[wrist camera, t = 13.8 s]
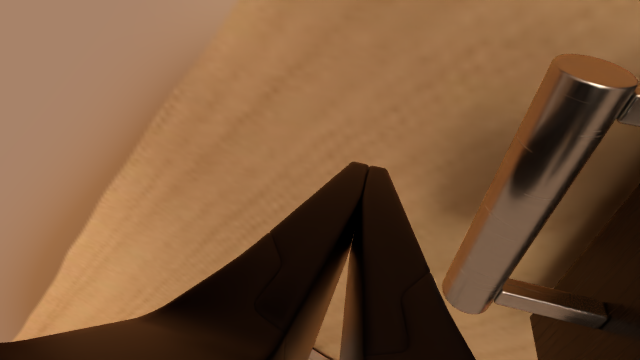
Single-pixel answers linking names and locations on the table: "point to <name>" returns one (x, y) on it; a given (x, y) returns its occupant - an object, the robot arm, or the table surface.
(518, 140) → the drawer
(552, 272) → the table surface
